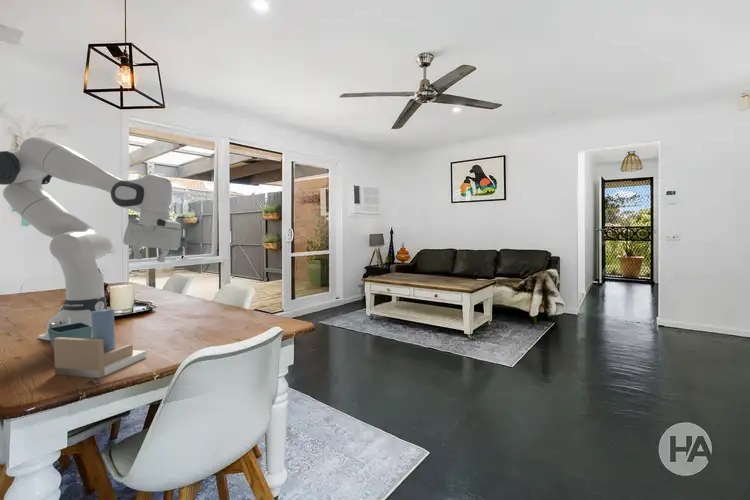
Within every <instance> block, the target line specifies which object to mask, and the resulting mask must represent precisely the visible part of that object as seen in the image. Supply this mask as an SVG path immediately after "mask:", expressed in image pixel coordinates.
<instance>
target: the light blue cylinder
mask: <svg viewBox="0 0 750 500" xmlns="http://www.w3.org/2000/svg"><path fill="white" fill-rule="evenodd" d="M91 317H92V334H93V338H92V339H102V340H103V347H104V353H107V352H109V351H112V350H115V349H117V348H116V346H117V345H116V330H115V328H116V326H115V311H114V308H105V309H101V310H95V311H92V312H91Z"/></svg>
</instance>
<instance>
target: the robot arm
mask: <svg viewBox="0 0 750 500" xmlns="http://www.w3.org/2000/svg"><path fill="white" fill-rule="evenodd" d="M52 178H56V179H58V180H61V181H65V182H69V183H72V184H77V185H80V186H81V185H82V186H86V187H91V188H95V189H99V190H102V191H105V192H107V193H110V198H111V200H112V202H113V203H114V204H115V205H117V206H118V207H120V208H123V209H125V210H126V209H127V210H132V211H135V212H138V213H139V218H138V219H131V220H129V222H127V226H126V228H125V230H124V235H123V239H122V240H123V244H124V245H126V246H132V247H131V250H132V252H133V259H134V260H142V259H143V254H142V253H140V250H141V247H144V248H150V249H151V248H153V249H160V253H161V254H160V255H159V256H157V260H156V261H157V262H158V263H165V261H166V257H167V256H168V255H169V254H170V250H171V251H178V250H179V248H181V247H180V246H181V238H182V237H181V236H182V233H181V231H180V229H181V228H182V224H181V222H179V221H176V220H174V219H172V218H170V214H171V213H170V206H171V204H172V196H173V187H172V185H173V184H172V182H171V181H170V180H169V179H167V178H165V177H163V176H160V175H157V174H154V173H148V174H146V175H144V176H142V177H139V178H136V179H130V180H124V179H121V178H119V177H118V176H115V175H113V174H111V173H109V172H108V171H106V170H104V169H103V168H101V167H100V166H98V165H97V164H95V163H94V162H92V161H91V160H89V159H88V158H86V157H84V156H83V155H82V154H80V153H78V152H77V151H75V150H73V149H71V148H69V147H67V146H64V145H62V144H60V143H58V142H55V141H53V140H49V139H46V138H42V137H36V136H34V137H29V138H26V139H24V140H23V141H22V143H21V144H20V146H19V149H10V150H4V151H1V150H0V185H2V186H5V185H6V186H5V187H4V189H3V191H2V195H3V198H4V199H5V200H6V202H7V203H8V205H10V207H11V208H13V210H14V211H16V213H17V214H18V215H20V216H21V217H22V218H23V219H24V220H25V221H27V222H28V223H29V224H30V225H31V226H33V228H35V229H36V230H37V231H39V232H40V234H42V235H45V236H48V237H50V238H52V239H51V241H50V243H49V251H50V254H51V255H52V256H53V258H55V259H56V260H57V261H58V263H59V265H60V267H61V270H62V272H63V276H64V281H65V283H64V284H65V294H66V295H65V296H66V298H65V299H64V300H61V301H60V305H63V306H62V307H61V308H62V310H60V311H59V312H58V313H56V315H54V316H53V317H51V318H50V319H49V320H48V321H47V324H46V331H45V332H44V333H40V334H38V336H37V339H39V340H44V341H50V337H49V333H48V328H53V327H59V326H64V325H69V324H75V323H80V322H81V323H85V324H87V325H91V326H92V317H91V312H92V311H95V310H101V309H106V306H107V297H106V296H105V283H104V280H105V279H104V275H103V274H102V272H101V271H100V269H99V268H98V264H97V260H98V259H102V258H103V257H105V256H107V255H108V254H109V253H110V252H111V250H112V248H113V242H112V240H111V238H110V237H109V236H108V235H106V234H104V233H103V232H100V231H98V230H97V229H95V228H94V227H92V226H91V225H90V224H88V223H87V222H86V221H83V220H82V219H80V218H78V217H77V216H76V215H74V214H73V213H71V212H70V211H69V210H67V208H66V207H64V206H63V205H62V204H61V203H60V202H58V201H57V200H56V199H55V198H54V197H53V196H51V195H50V194H49V193H48V192H47V191H46V190H44V187H43V185H48V184H49V183H50V182H51V179H52ZM91 339H93V334H92V335H91Z"/></svg>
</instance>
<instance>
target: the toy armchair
mask: <svg viewBox="0 0 750 500" xmlns="http://www.w3.org/2000/svg"><path fill="white" fill-rule="evenodd" d="M53 355H54V374H55V375H56V376H68V377H81V378H82V377H83V378H96V379H100V378H103V377H105V376H107V375H109V374H112V373H114V372H116V371H119V370H121V369H123V368H125V367H128V366H129V365H132V364H134V363H137V362H139V361H141V360H143V359H145V358H146V359H147V350H141V349H140V350H136V349H133V344H125V345H123V346H121V347H117V348H116V349H115V350H112V351H109V352H107V353H104V347H103V340H102V339H93V338H91V339H85V338H67V337H58V338H54V348H53Z"/></svg>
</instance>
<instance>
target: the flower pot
mask: <svg viewBox="0 0 750 500" xmlns="http://www.w3.org/2000/svg"><path fill="white" fill-rule="evenodd" d="M48 333H49V337H50V340H49V341H50V344H51V347H52V349H54V338H58V337H67V338H85V339H92V338H91V335H92V326H91V325H87V324H85V323H81V322H80V323H75V324H69V325H64V326H59V327H53V328H48Z"/></svg>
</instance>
